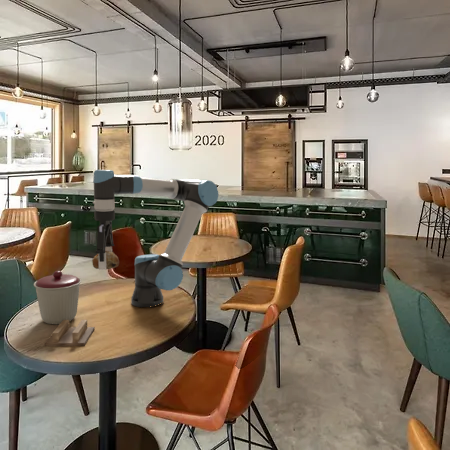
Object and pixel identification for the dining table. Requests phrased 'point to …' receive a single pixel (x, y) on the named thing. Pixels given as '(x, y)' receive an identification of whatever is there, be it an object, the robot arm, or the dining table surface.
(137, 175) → the robot arm
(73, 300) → the canister
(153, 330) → the dining table surface
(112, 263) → the bread roll
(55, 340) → the display stand
